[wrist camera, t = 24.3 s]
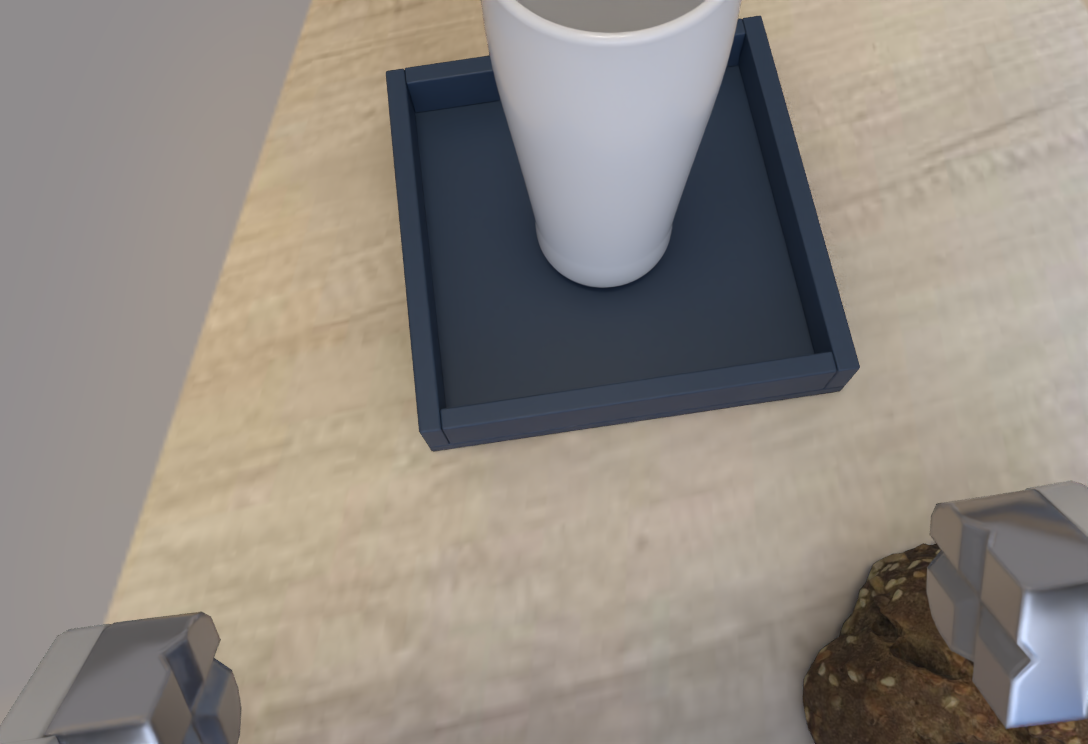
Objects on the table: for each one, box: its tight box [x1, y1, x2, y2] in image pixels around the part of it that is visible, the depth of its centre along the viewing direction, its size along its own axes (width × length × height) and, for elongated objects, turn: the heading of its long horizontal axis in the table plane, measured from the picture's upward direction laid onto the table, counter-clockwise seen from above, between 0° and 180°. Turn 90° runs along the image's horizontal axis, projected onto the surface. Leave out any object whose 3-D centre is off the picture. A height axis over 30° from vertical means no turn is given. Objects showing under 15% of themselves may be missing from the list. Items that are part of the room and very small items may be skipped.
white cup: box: [481, 0, 742, 288], centre depth 28 cm, size 7×7×15 cm
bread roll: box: [803, 544, 1088, 744], centre depth 26 cm, size 13×12×5 cm
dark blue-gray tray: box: [386, 16, 860, 451], centre depth 34 cm, size 16×16×3 cm
